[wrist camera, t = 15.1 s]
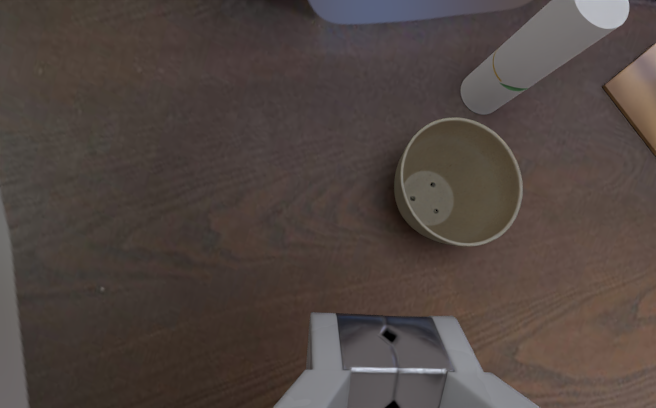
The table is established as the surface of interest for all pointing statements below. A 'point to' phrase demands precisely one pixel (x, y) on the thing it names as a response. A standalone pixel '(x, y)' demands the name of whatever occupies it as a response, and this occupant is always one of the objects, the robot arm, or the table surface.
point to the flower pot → (458, 183)
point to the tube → (540, 49)
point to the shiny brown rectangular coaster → (638, 95)
